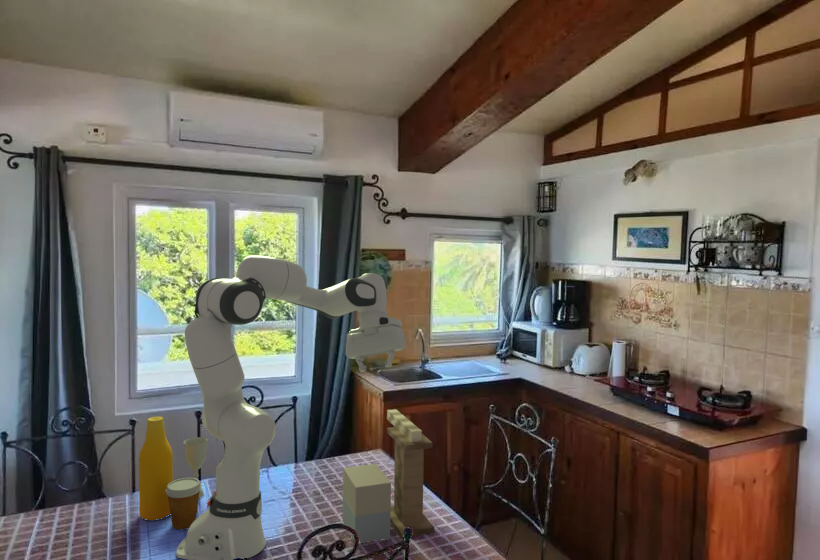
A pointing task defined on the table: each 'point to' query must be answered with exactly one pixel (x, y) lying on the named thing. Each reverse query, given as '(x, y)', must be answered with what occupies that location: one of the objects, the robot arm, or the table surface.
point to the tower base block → (367, 524)
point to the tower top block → (366, 489)
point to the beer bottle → (155, 471)
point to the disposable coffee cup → (183, 501)
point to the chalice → (196, 455)
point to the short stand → (409, 485)
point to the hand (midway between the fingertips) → (375, 369)
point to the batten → (404, 425)
